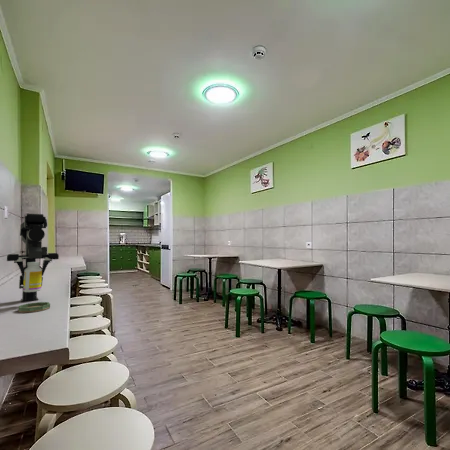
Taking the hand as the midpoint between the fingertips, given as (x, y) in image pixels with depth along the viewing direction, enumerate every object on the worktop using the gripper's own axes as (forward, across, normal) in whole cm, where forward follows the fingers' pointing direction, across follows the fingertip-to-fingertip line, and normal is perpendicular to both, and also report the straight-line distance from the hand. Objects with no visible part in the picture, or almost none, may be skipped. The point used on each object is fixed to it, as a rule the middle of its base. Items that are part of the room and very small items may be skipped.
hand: (32, 276), depth 122 cm
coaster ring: (+13, 0, -11) cm, 17 cm away
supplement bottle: (+7, 0, 0) cm, 7 cm away
